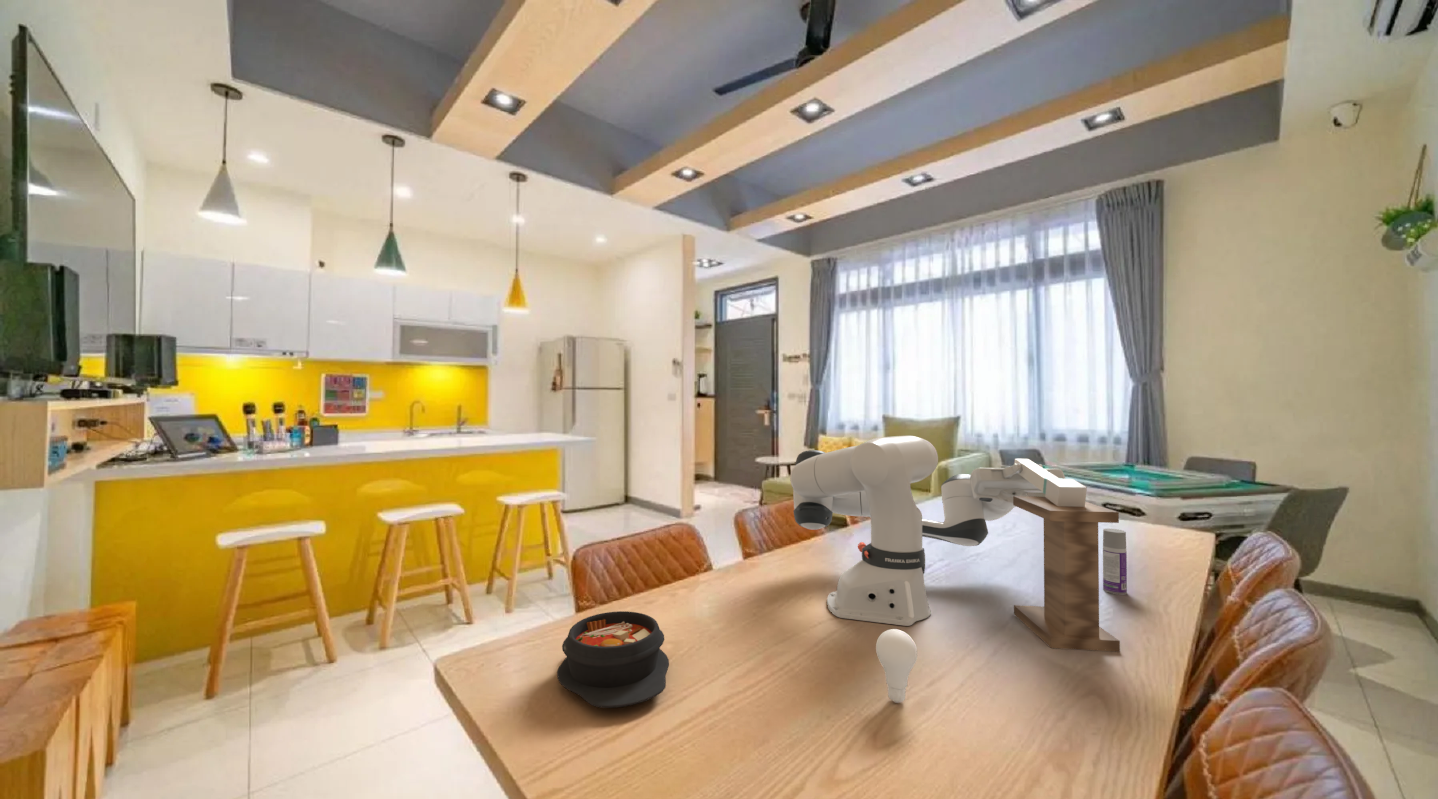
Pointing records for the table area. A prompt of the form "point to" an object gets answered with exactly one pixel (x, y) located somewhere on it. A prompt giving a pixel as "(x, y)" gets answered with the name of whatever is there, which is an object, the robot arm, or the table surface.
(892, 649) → the lightbulb
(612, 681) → the casserole
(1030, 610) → the wooden i-beam block
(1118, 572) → the container
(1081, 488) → the bar
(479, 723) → the table surface
